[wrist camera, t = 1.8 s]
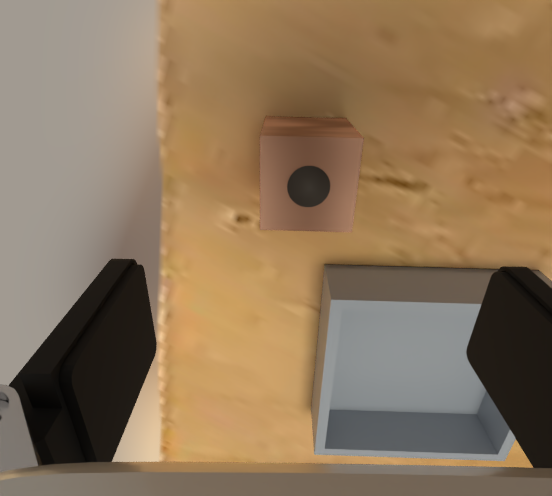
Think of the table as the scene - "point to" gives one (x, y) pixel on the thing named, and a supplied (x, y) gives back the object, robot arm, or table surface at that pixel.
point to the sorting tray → (403, 365)
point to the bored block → (309, 173)
